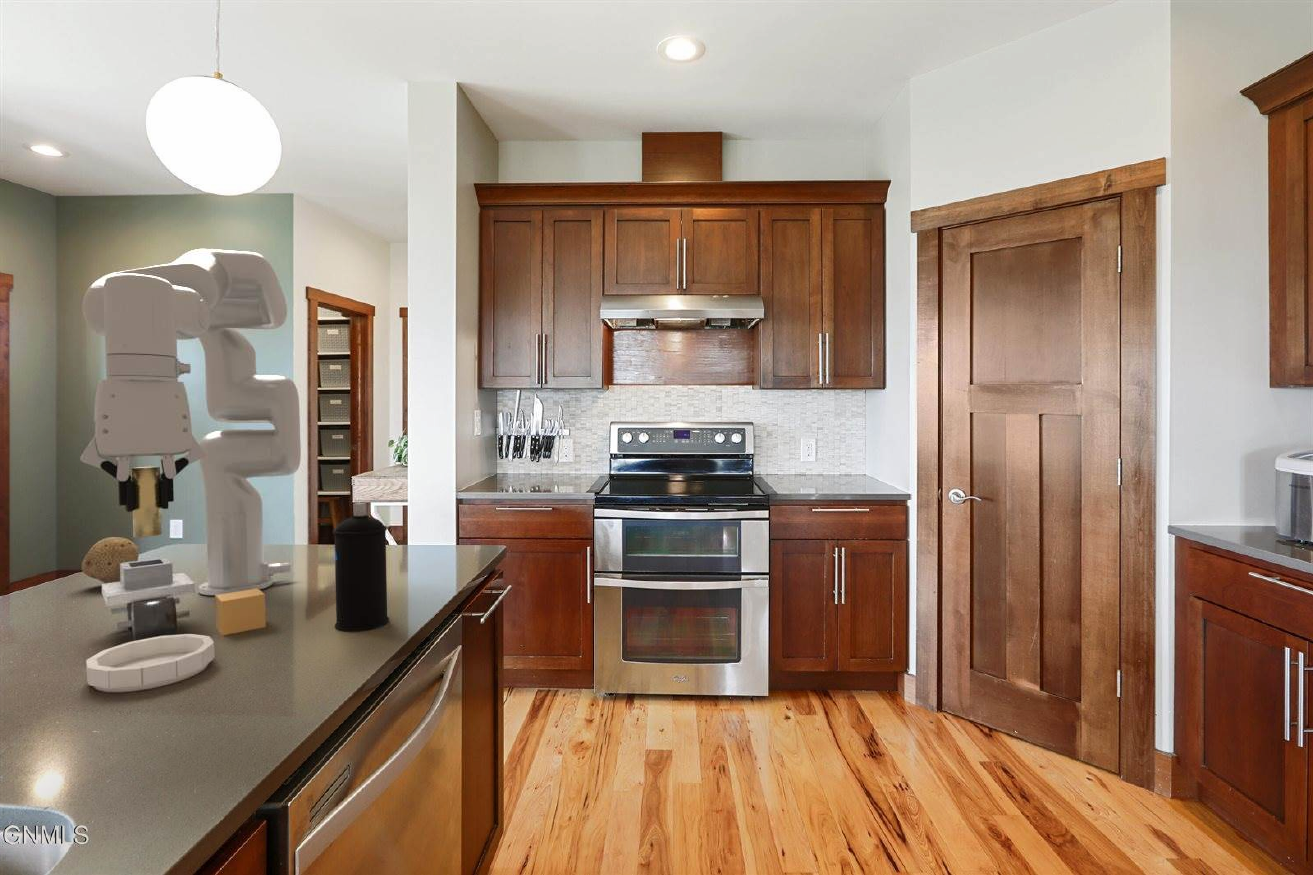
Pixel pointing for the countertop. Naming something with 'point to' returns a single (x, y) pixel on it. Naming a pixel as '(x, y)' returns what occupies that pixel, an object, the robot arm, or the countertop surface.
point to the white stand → (148, 597)
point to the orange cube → (240, 611)
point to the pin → (146, 502)
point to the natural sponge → (109, 558)
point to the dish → (149, 662)
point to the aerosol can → (360, 572)
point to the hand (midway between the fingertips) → (146, 508)
